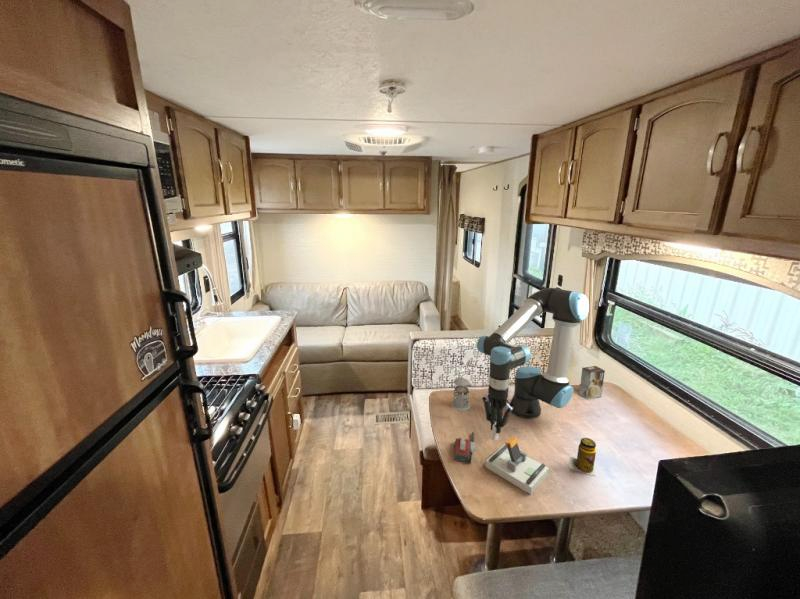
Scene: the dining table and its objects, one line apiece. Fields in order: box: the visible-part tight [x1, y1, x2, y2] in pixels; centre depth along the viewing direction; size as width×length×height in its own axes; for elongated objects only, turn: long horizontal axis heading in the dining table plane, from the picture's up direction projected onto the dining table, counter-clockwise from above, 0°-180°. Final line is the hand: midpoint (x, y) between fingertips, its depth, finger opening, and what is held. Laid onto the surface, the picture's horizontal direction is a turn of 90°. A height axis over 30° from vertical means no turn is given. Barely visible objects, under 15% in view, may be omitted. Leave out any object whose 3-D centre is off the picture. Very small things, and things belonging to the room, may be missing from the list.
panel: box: [485, 444, 550, 495], centre depth 133 cm, size 14×19×6 cm
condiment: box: [569, 437, 597, 477], centre depth 134 cm, size 7×8×12 cm
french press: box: [451, 361, 471, 412], centre depth 177 cm, size 10×12×25 cm
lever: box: [504, 436, 523, 466], centre depth 133 cm, size 6×2×10 cm, turn 133°
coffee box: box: [579, 365, 606, 400], centre depth 185 cm, size 9×6×16 cm
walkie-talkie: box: [453, 431, 477, 464], centre depth 146 cm, size 9×4×20 cm
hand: (495, 438), depth 138 cm, fingers closed
